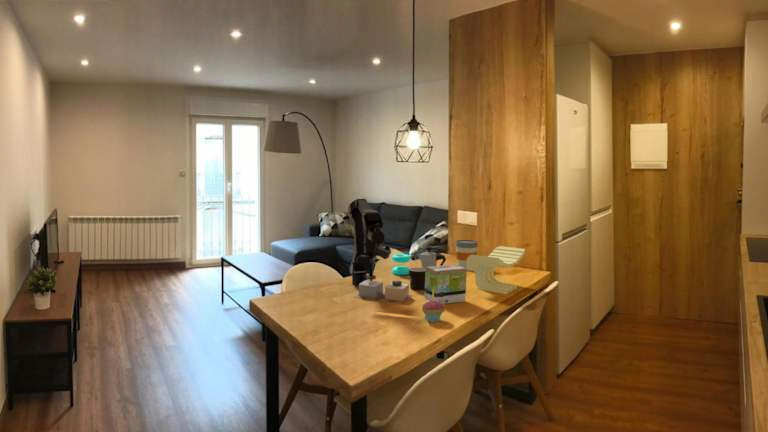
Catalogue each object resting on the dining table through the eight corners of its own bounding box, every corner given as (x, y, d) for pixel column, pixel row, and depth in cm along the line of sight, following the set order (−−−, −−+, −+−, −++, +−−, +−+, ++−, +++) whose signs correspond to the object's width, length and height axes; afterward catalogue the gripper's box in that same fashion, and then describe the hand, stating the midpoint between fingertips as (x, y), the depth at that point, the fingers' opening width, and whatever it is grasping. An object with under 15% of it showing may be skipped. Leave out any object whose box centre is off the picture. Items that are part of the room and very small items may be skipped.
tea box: (436, 306, 200) (437, 271, 198) (423, 300, 209) (424, 266, 207) (466, 301, 207) (467, 267, 205) (452, 295, 216) (453, 263, 214)
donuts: (414, 254, 259) (404, 257, 251) (414, 273, 260) (404, 276, 252) (398, 252, 265) (388, 255, 257) (398, 270, 266) (388, 274, 258)
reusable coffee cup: (454, 269, 271) (455, 242, 269) (454, 264, 283) (455, 239, 281) (477, 270, 268) (478, 243, 267) (476, 265, 281) (477, 240, 279)
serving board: (353, 299, 208) (353, 297, 208) (365, 292, 220) (365, 290, 220) (404, 305, 200) (404, 303, 200) (413, 297, 212) (413, 295, 212)
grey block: (359, 296, 210) (359, 283, 209) (367, 291, 219) (367, 279, 218) (376, 298, 207) (376, 285, 207) (384, 292, 216) (384, 280, 215)
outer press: (384, 299, 206) (384, 286, 205) (392, 293, 215) (392, 281, 214) (402, 301, 203) (402, 288, 202) (409, 295, 212) (409, 283, 211)
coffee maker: (413, 283, 238) (414, 247, 236) (419, 279, 246) (419, 244, 244) (442, 286, 232) (443, 249, 230) (447, 282, 240) (448, 246, 238)
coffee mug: (425, 293, 219) (426, 271, 218) (406, 292, 221) (407, 270, 220) (428, 287, 230) (428, 266, 229) (410, 286, 232) (410, 265, 231)
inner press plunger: (361, 291, 210) (361, 276, 210) (367, 288, 216) (367, 273, 215) (375, 293, 208) (375, 278, 207) (380, 289, 214) (380, 274, 213)
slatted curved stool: (493, 280, 246) (494, 245, 244) (523, 284, 236) (525, 248, 235) (465, 292, 222) (466, 253, 221) (497, 298, 213) (499, 258, 211)
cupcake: (420, 316, 186) (420, 286, 185) (442, 316, 187) (442, 285, 185) (424, 323, 177) (424, 291, 176) (446, 323, 178) (447, 291, 177)
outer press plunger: (387, 297, 206) (387, 282, 205) (392, 294, 212) (392, 279, 211) (401, 299, 204) (401, 284, 203) (406, 295, 210) (406, 280, 209)
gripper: (380, 245, 198) (380, 282, 200) (395, 238, 216) (395, 273, 217) (356, 243, 202) (355, 279, 204) (372, 237, 219) (372, 270, 221)
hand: (371, 275), depth 211 cm, fingers closed, pressing on inner press plunger
